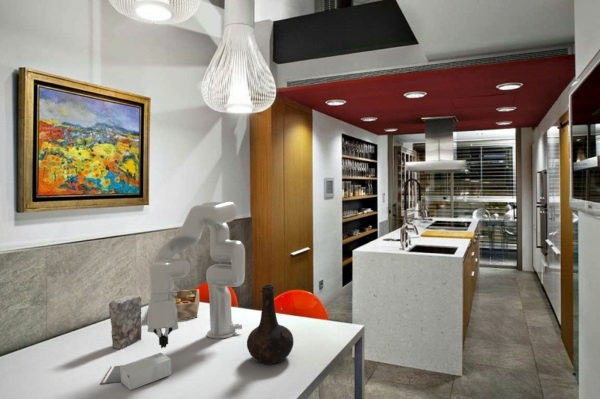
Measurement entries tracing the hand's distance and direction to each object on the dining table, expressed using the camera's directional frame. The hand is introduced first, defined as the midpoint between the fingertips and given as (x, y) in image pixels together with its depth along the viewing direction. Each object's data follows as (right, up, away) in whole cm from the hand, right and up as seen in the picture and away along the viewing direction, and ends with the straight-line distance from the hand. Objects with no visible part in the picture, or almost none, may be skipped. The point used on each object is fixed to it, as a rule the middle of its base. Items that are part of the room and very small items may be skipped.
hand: (163, 346), depth 150 cm
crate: (-18, -8, +77) cm, 79 cm away
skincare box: (+2, -5, -2) cm, 6 cm away
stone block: (-25, -9, +29) cm, 39 cm away
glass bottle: (+38, -8, +7) cm, 40 cm away
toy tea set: (-17, -7, +77) cm, 80 cm away
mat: (-11, -9, -1) cm, 14 cm away
